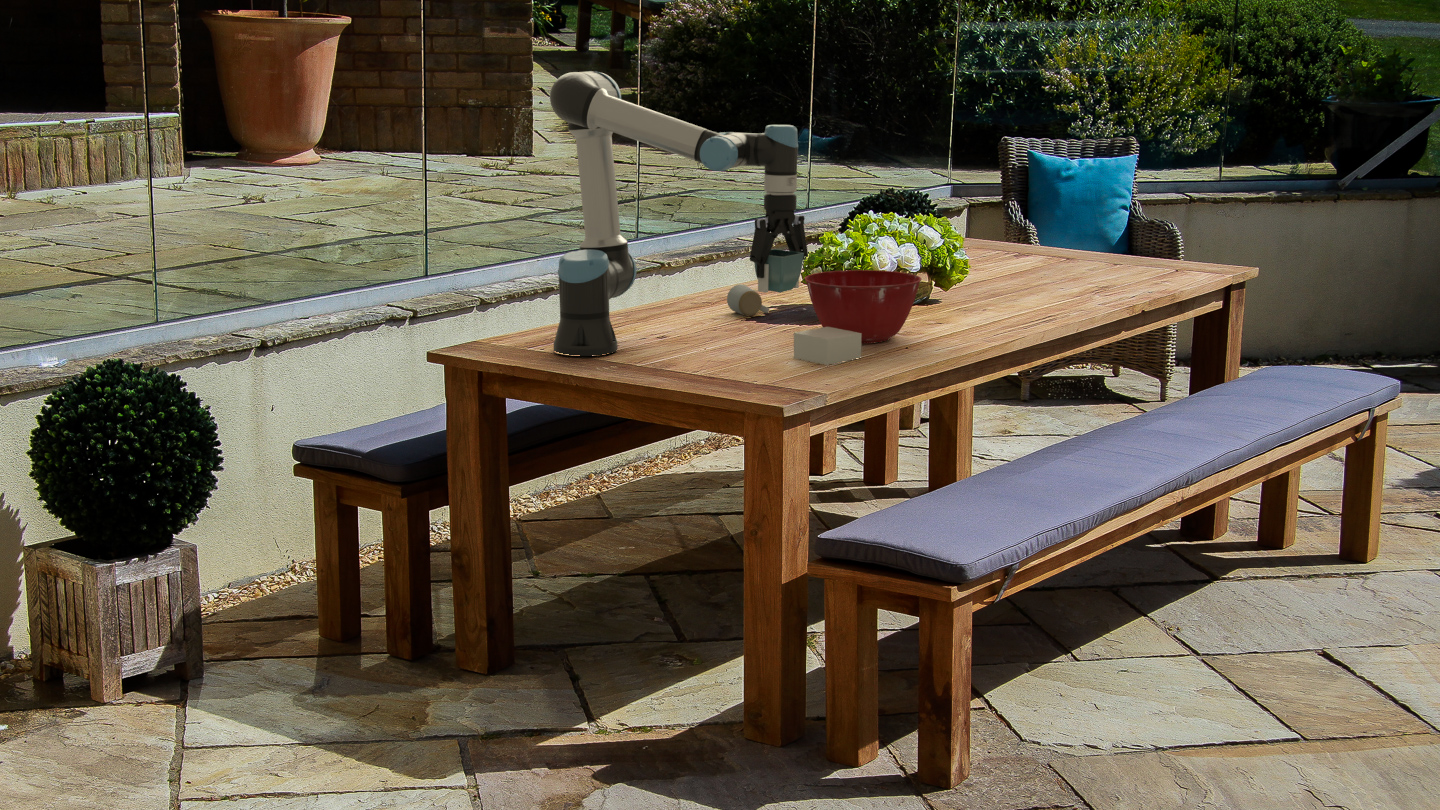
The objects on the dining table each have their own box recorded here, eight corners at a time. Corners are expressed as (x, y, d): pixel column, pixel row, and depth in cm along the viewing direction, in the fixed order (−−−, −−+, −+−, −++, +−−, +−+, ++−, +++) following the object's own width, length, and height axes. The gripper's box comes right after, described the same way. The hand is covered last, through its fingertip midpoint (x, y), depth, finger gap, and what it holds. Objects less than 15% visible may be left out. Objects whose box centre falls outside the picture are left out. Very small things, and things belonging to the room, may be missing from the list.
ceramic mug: (739, 317, 386) (739, 289, 384) (726, 312, 393) (726, 284, 391) (774, 315, 390) (775, 287, 389) (761, 310, 398) (761, 282, 396)
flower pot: (782, 295, 333) (783, 256, 331) (751, 290, 338) (752, 252, 336) (803, 290, 340) (805, 252, 338) (773, 286, 345) (774, 248, 343)
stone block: (827, 365, 327) (827, 339, 326) (793, 357, 335) (793, 332, 334) (861, 358, 334) (861, 333, 333) (827, 351, 342) (827, 326, 341)
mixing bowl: (786, 332, 366) (786, 271, 362) (887, 324, 375) (888, 265, 372) (833, 354, 340) (834, 288, 336) (940, 345, 350) (942, 281, 346)
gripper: (756, 197, 324) (754, 296, 329) (825, 191, 338) (822, 286, 343) (734, 194, 329) (732, 292, 335) (803, 189, 343) (800, 282, 349)
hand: (778, 289), depth 339 cm, fingers closed on flower pot, 9 cm apart
